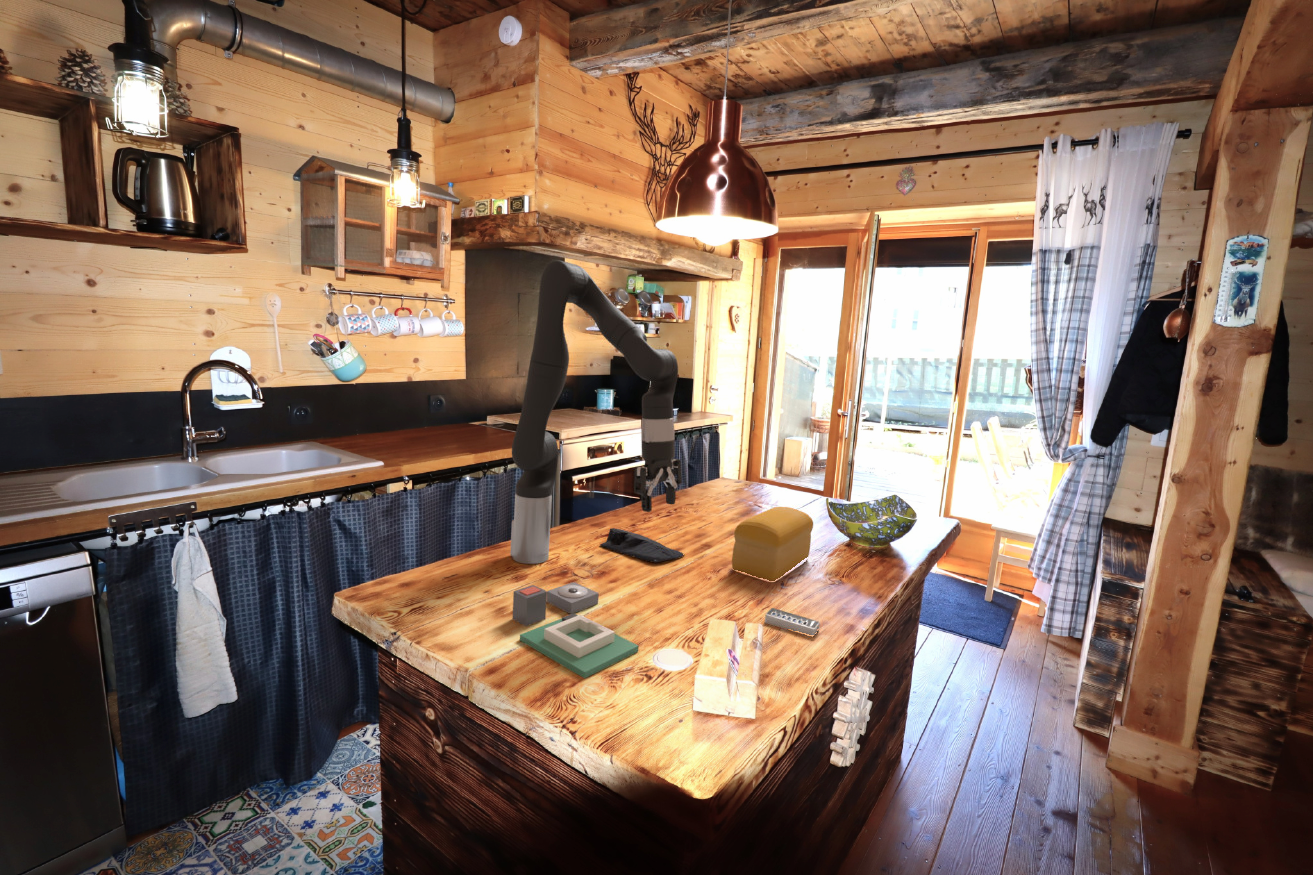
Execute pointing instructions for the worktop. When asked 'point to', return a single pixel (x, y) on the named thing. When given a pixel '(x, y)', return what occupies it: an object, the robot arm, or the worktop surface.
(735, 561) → the bread
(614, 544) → the dark slate chunk
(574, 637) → the circuit board
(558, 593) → the grey square domed block
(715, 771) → the worktop surface
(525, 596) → the keyed plug
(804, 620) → the multiport hub
